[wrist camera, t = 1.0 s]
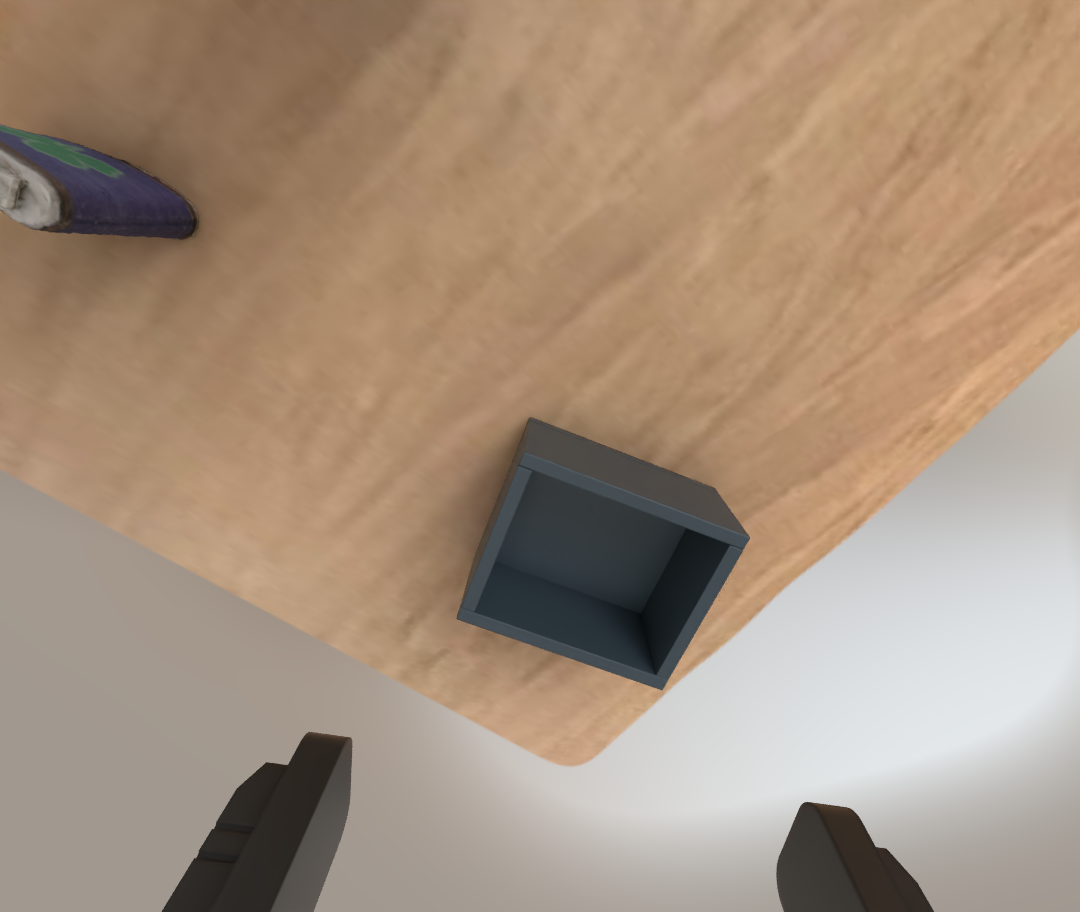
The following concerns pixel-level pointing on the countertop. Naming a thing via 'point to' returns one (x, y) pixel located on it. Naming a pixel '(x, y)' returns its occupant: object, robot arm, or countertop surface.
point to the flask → (86, 191)
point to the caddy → (600, 556)
